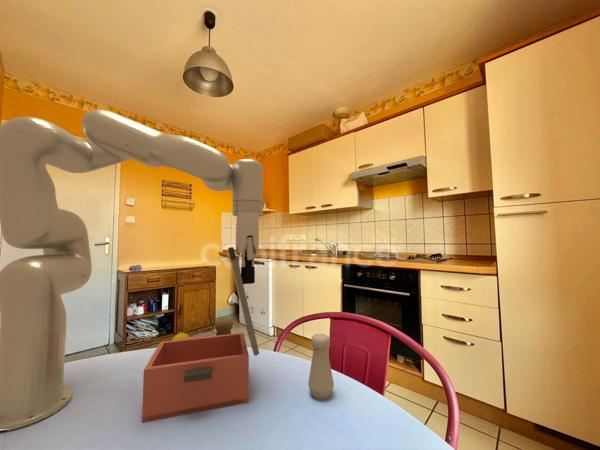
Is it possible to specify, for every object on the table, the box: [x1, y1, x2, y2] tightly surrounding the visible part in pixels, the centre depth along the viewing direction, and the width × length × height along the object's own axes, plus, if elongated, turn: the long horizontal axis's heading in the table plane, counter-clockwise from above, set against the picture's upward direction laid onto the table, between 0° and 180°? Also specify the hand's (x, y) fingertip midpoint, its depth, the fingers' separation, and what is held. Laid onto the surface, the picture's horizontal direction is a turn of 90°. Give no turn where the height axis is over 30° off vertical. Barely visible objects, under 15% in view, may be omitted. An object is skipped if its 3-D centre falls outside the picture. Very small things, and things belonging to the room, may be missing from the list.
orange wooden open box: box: [141, 332, 250, 424], centre depth 58 cm, size 20×19×10 cm
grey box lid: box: [227, 246, 260, 357], centre depth 61 cm, size 24×16×1 cm
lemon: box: [171, 331, 191, 341], centre depth 73 cm, size 6×6×8 cm
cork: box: [214, 317, 234, 336], centre depth 75 cm, size 6×6×11 cm
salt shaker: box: [307, 332, 335, 400], centre depth 57 cm, size 6×6×13 cm
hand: (247, 283), depth 62 cm, fingers closed
